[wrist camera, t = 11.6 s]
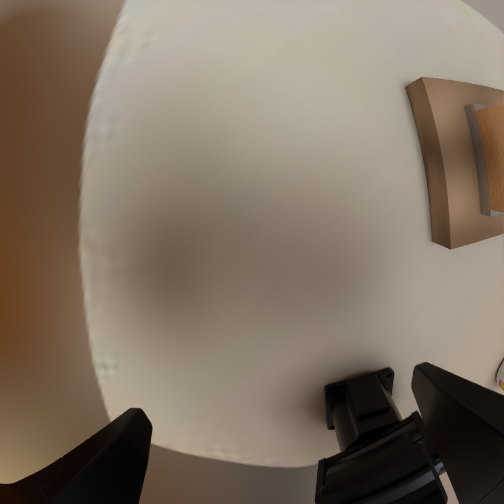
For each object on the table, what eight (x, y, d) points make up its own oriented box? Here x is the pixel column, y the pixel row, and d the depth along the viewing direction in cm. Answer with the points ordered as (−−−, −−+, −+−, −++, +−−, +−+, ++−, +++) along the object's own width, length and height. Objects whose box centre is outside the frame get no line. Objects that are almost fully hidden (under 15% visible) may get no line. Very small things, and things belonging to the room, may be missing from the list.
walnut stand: (514, 219, 17) (531, 224, 14) (432, 241, 18) (450, 249, 15) (496, 97, 14) (512, 93, 11) (405, 86, 15) (421, 77, 12)
